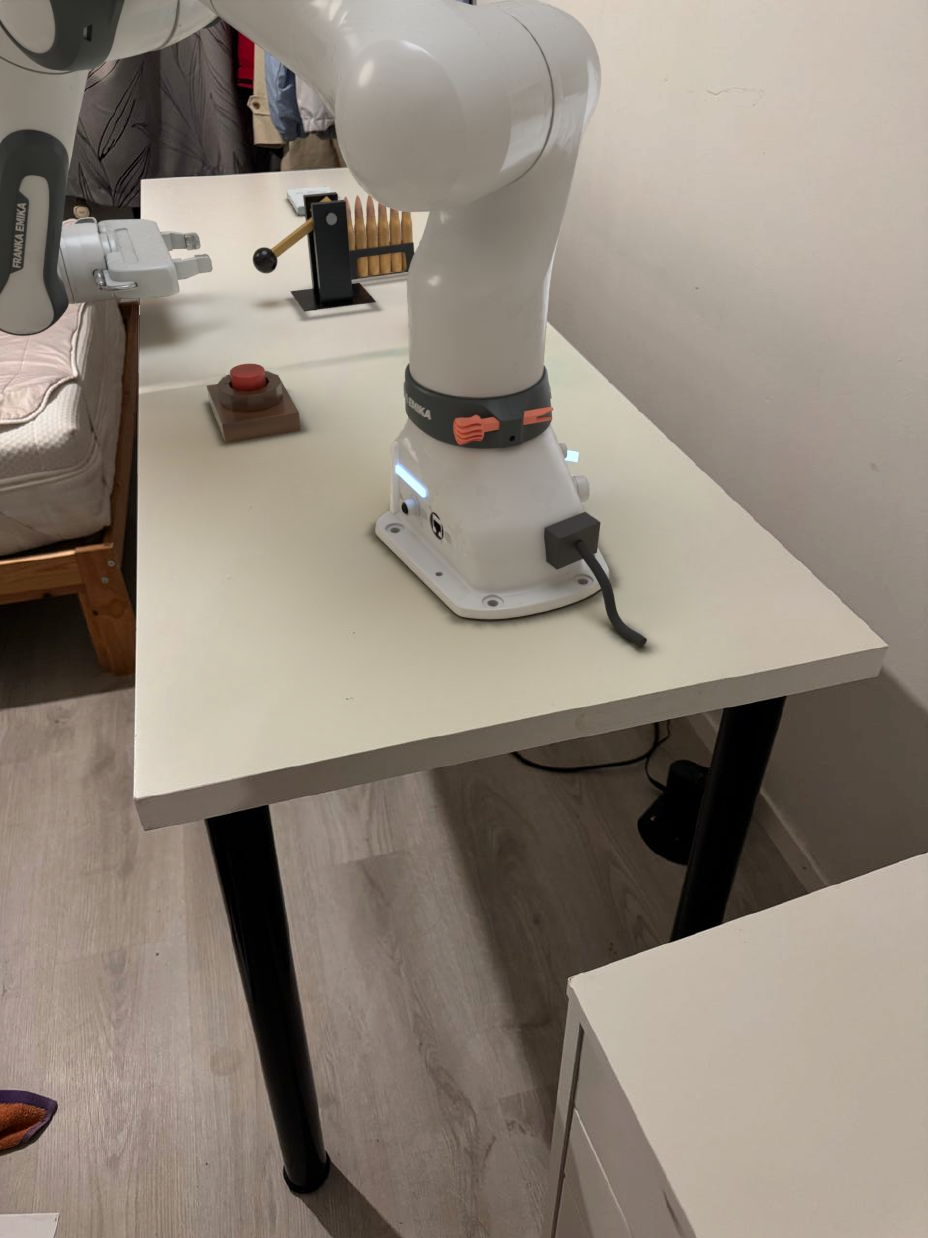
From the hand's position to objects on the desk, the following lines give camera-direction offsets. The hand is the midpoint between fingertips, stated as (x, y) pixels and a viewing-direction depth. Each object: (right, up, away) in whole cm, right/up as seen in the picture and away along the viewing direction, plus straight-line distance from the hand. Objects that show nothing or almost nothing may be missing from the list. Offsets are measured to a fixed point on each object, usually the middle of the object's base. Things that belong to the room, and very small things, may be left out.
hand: (205, 251), depth 114 cm
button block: (+10, -25, -16) cm, 31 cm away
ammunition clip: (+21, +3, +18) cm, 28 cm away
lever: (+12, +2, +4) cm, 13 cm away
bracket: (+15, -3, +10) cm, 18 cm away
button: (+10, -22, -19) cm, 31 cm away
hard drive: (+6, +28, +49) cm, 57 cm away
